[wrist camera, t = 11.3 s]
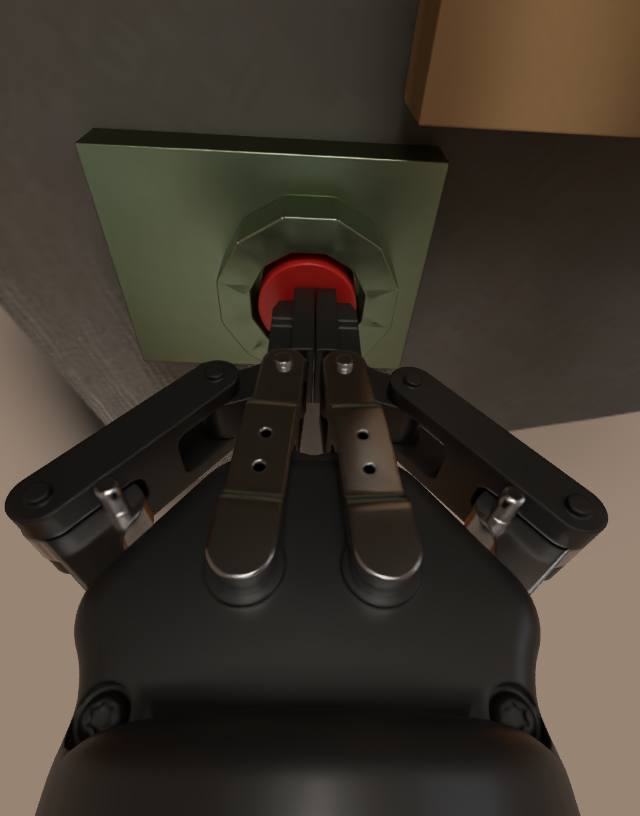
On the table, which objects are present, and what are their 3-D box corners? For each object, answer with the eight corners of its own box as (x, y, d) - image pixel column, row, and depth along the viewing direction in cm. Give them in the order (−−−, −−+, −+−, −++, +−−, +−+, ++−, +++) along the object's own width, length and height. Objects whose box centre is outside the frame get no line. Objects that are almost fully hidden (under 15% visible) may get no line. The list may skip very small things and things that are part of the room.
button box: (153, 339, 21) (132, 388, 19) (92, 127, 15) (49, 162, 12) (394, 347, 22) (405, 396, 19) (439, 146, 15) (463, 182, 13)
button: (264, 320, 18) (260, 346, 17) (259, 237, 16) (255, 261, 14) (348, 323, 18) (351, 349, 17) (358, 242, 16) (362, 266, 15)
